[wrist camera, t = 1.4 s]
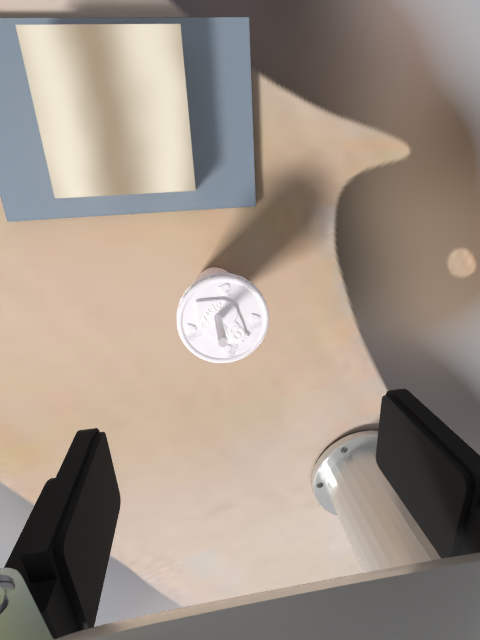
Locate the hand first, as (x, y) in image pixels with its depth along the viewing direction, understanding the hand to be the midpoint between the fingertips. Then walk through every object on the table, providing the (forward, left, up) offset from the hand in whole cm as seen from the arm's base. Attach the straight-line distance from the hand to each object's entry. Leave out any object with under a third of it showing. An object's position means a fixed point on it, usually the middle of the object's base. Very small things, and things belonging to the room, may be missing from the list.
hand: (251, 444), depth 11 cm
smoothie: (0, 0, -22) cm, 22 cm away
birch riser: (+6, -13, -22) cm, 27 cm away
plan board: (+6, -13, -22) cm, 27 cm away
